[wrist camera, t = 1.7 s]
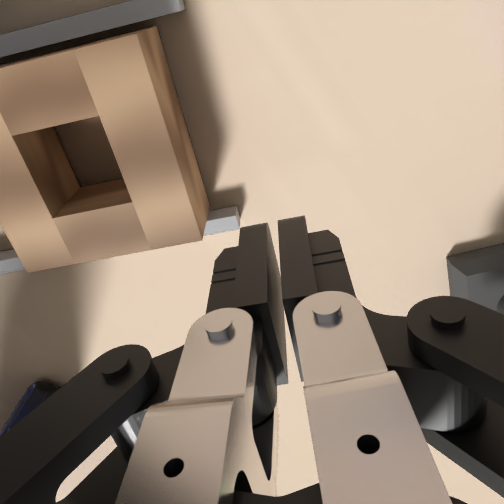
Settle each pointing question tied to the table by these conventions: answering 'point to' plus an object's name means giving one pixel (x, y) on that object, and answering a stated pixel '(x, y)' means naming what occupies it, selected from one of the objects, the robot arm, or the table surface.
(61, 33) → the backstop
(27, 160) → the socket block
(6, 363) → the table surface
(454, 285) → the faucet
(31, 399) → the book
